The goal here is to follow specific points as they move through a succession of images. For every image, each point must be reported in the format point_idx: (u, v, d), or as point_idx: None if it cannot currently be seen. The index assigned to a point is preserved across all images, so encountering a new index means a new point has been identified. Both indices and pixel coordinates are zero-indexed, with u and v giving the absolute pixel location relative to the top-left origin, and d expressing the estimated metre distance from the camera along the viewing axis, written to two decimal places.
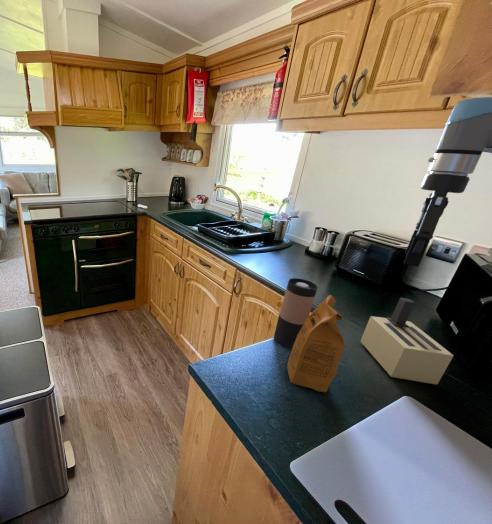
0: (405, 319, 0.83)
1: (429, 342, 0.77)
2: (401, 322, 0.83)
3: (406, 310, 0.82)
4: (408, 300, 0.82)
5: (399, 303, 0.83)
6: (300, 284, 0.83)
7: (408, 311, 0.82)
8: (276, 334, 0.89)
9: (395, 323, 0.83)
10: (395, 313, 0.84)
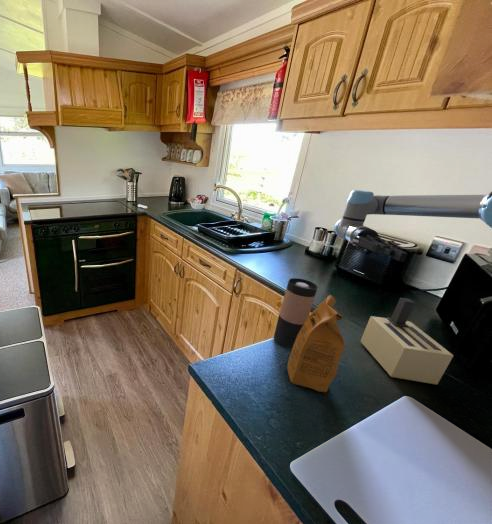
0: (405, 319, 0.83)
1: (429, 342, 0.77)
2: (401, 322, 0.83)
3: (406, 310, 0.82)
4: (408, 300, 0.82)
5: (399, 303, 0.83)
6: (300, 284, 0.83)
7: (408, 311, 0.82)
8: (276, 334, 0.89)
9: (395, 323, 0.83)
10: (395, 313, 0.84)
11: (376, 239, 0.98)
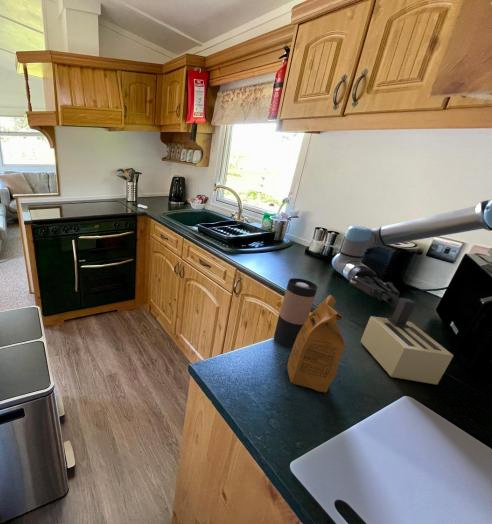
0: (405, 319, 0.82)
1: (429, 342, 0.77)
2: (401, 322, 0.83)
3: (406, 310, 0.82)
4: (408, 300, 0.81)
5: (399, 303, 0.83)
6: (300, 284, 0.83)
7: (408, 311, 0.82)
8: (276, 334, 0.89)
9: (395, 323, 0.83)
10: (395, 313, 0.84)
11: (374, 281, 0.96)
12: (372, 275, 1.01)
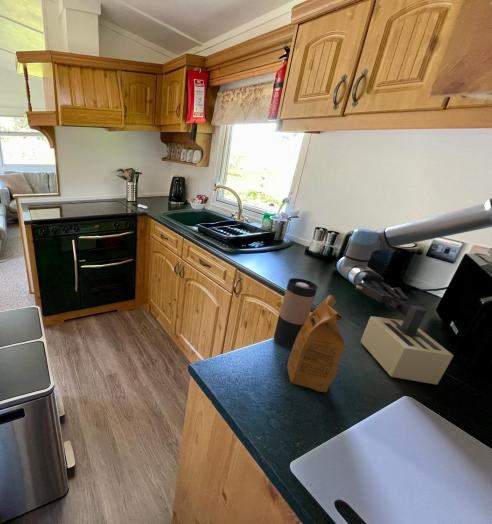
0: (416, 328, 0.78)
1: (429, 342, 0.77)
2: (412, 331, 0.79)
3: (417, 318, 0.78)
4: (419, 308, 0.77)
5: (410, 311, 0.79)
6: (300, 284, 0.83)
7: (419, 319, 0.78)
8: (276, 334, 0.89)
9: (405, 332, 0.79)
10: (405, 321, 0.80)
11: (381, 287, 0.92)
12: (379, 280, 0.97)
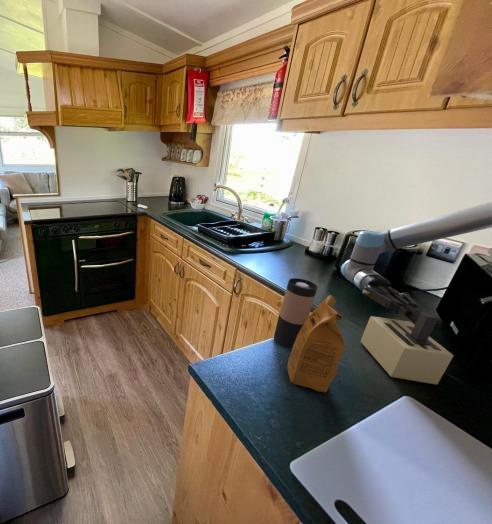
0: (427, 336, 0.75)
1: (429, 342, 0.77)
2: (422, 339, 0.75)
3: (428, 326, 0.74)
4: (430, 315, 0.74)
5: (420, 318, 0.75)
6: (300, 284, 0.83)
7: (430, 327, 0.74)
8: (276, 334, 0.89)
9: (415, 340, 0.75)
10: (415, 329, 0.76)
11: (389, 292, 0.88)
12: (386, 285, 0.94)
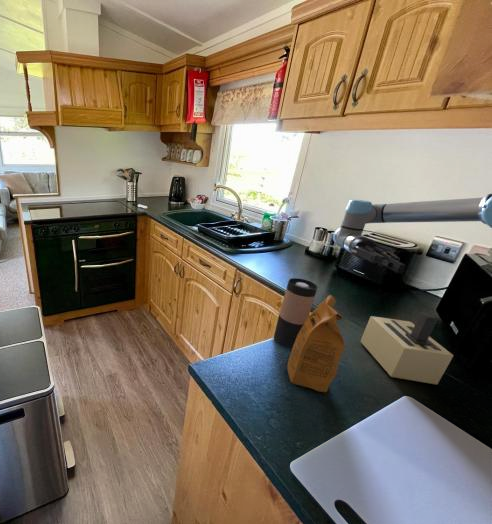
0: (427, 336, 0.75)
1: (429, 342, 0.77)
2: (422, 339, 0.75)
3: (428, 326, 0.74)
4: (430, 315, 0.74)
5: (420, 318, 0.75)
6: (300, 284, 0.83)
7: (430, 328, 0.74)
8: (276, 334, 0.89)
9: (415, 340, 0.75)
10: (415, 329, 0.76)
11: (374, 250, 0.98)
12: (373, 245, 1.03)
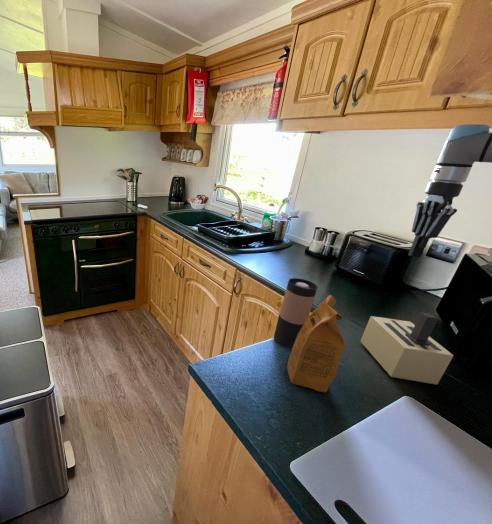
0: (427, 336, 0.75)
1: (429, 342, 0.77)
2: (422, 339, 0.75)
3: (428, 326, 0.74)
4: (430, 315, 0.74)
5: (420, 318, 0.75)
6: (300, 284, 0.83)
7: (430, 328, 0.74)
8: (276, 334, 0.89)
9: (415, 340, 0.75)
10: (415, 329, 0.76)
11: None
12: None
